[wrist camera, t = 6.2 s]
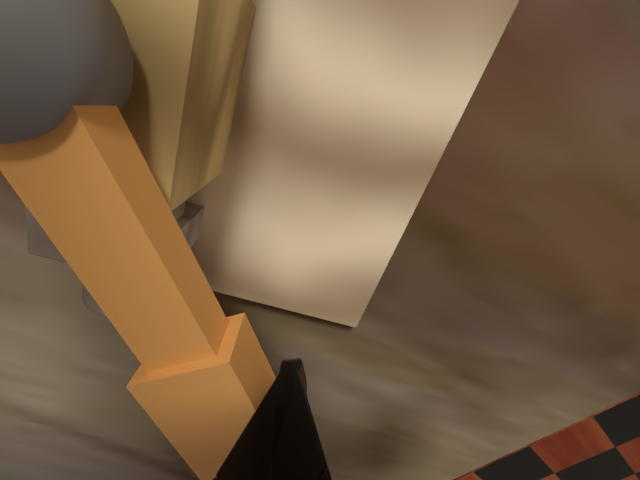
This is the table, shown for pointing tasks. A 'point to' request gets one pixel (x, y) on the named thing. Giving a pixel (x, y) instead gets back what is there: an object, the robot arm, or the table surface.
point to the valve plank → (297, 133)
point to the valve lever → (121, 223)
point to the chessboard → (577, 450)
